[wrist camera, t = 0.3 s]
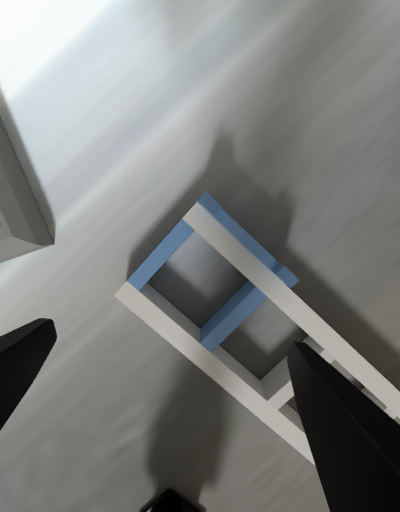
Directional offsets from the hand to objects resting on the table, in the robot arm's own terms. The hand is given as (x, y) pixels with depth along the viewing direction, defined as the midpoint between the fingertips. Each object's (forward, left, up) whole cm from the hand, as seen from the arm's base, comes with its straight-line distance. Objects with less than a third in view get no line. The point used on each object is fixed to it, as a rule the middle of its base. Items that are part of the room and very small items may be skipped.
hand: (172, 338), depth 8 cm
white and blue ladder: (-1, -21, -15) cm, 26 cm away
